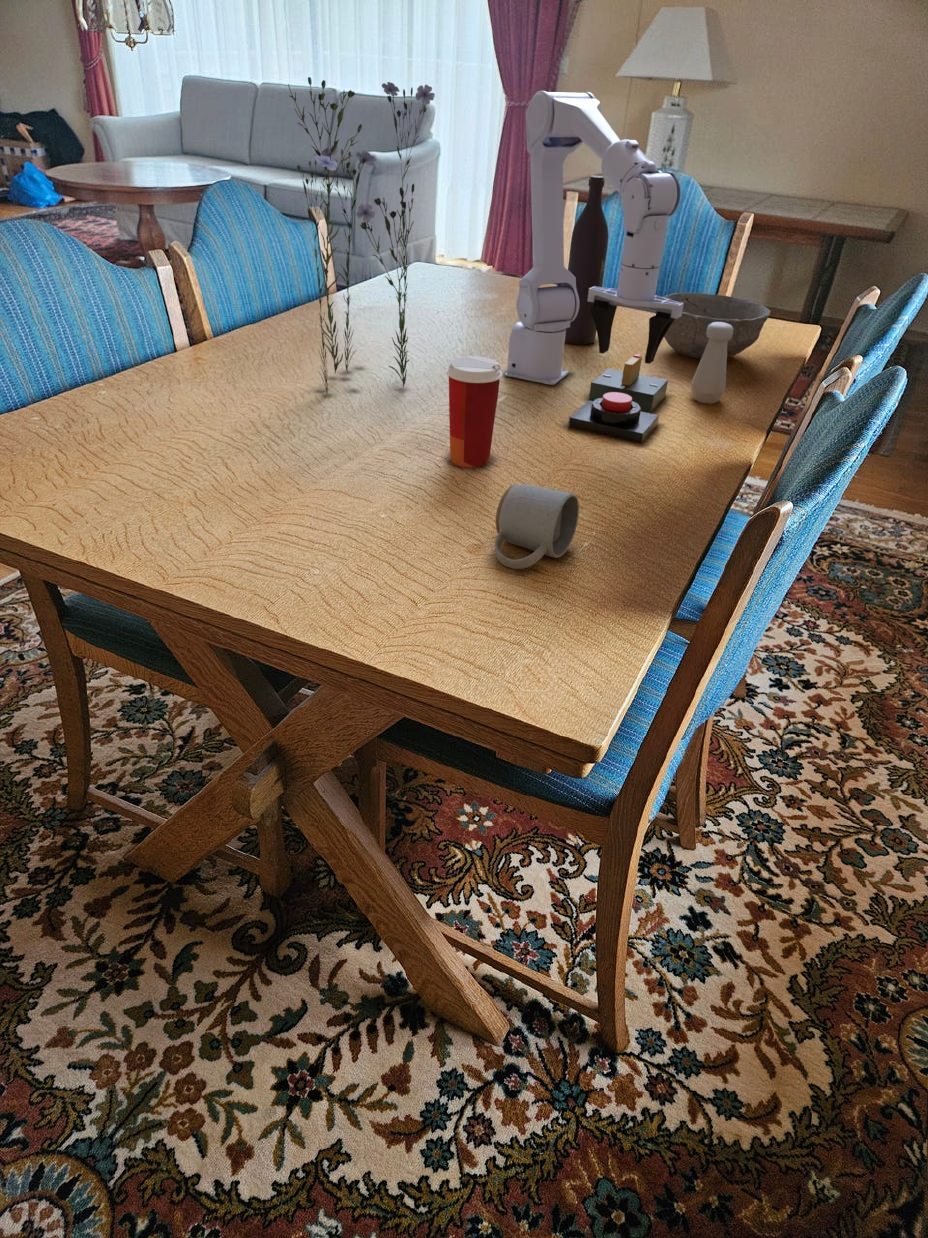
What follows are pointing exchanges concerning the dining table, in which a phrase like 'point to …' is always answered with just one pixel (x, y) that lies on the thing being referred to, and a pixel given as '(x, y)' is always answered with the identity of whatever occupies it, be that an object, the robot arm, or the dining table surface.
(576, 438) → the dining table surface
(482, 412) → the paper cup
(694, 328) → the bowl
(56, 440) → the dining table surface
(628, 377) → the dimmer knob
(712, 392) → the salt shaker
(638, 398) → the panel
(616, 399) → the light button
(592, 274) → the wine bottle
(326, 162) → the wildflower
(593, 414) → the switch box
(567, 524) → the ceramic mug
